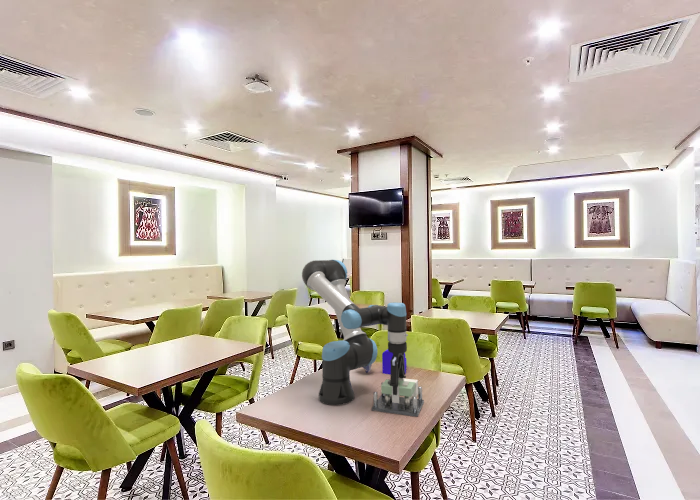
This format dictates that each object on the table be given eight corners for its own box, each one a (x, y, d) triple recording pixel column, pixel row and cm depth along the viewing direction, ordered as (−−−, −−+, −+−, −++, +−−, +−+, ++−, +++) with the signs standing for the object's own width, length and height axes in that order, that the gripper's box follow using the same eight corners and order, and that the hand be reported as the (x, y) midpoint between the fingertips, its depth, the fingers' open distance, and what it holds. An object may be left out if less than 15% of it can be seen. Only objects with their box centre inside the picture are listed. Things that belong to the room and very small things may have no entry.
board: (381, 393, 148) (381, 383, 148) (386, 386, 155) (386, 377, 155) (411, 396, 143) (411, 386, 143) (415, 389, 151) (415, 380, 151)
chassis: (371, 410, 146) (371, 393, 146) (381, 397, 159) (381, 381, 159) (417, 416, 139) (417, 399, 139) (423, 402, 152) (423, 386, 153)
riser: (398, 394, 161) (397, 380, 161) (400, 391, 165) (399, 378, 165) (416, 397, 159) (416, 382, 159) (418, 393, 162) (417, 379, 162)
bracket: (402, 376, 186) (402, 353, 186) (382, 373, 191) (382, 350, 191) (413, 366, 201) (413, 344, 202) (394, 364, 206) (394, 343, 207)
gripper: (400, 348, 138) (401, 409, 138) (411, 336, 158) (412, 390, 158) (381, 347, 141) (382, 407, 141) (394, 335, 160) (395, 388, 160)
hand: (398, 398), depth 149 cm, fingers closed on board, 8 cm apart
